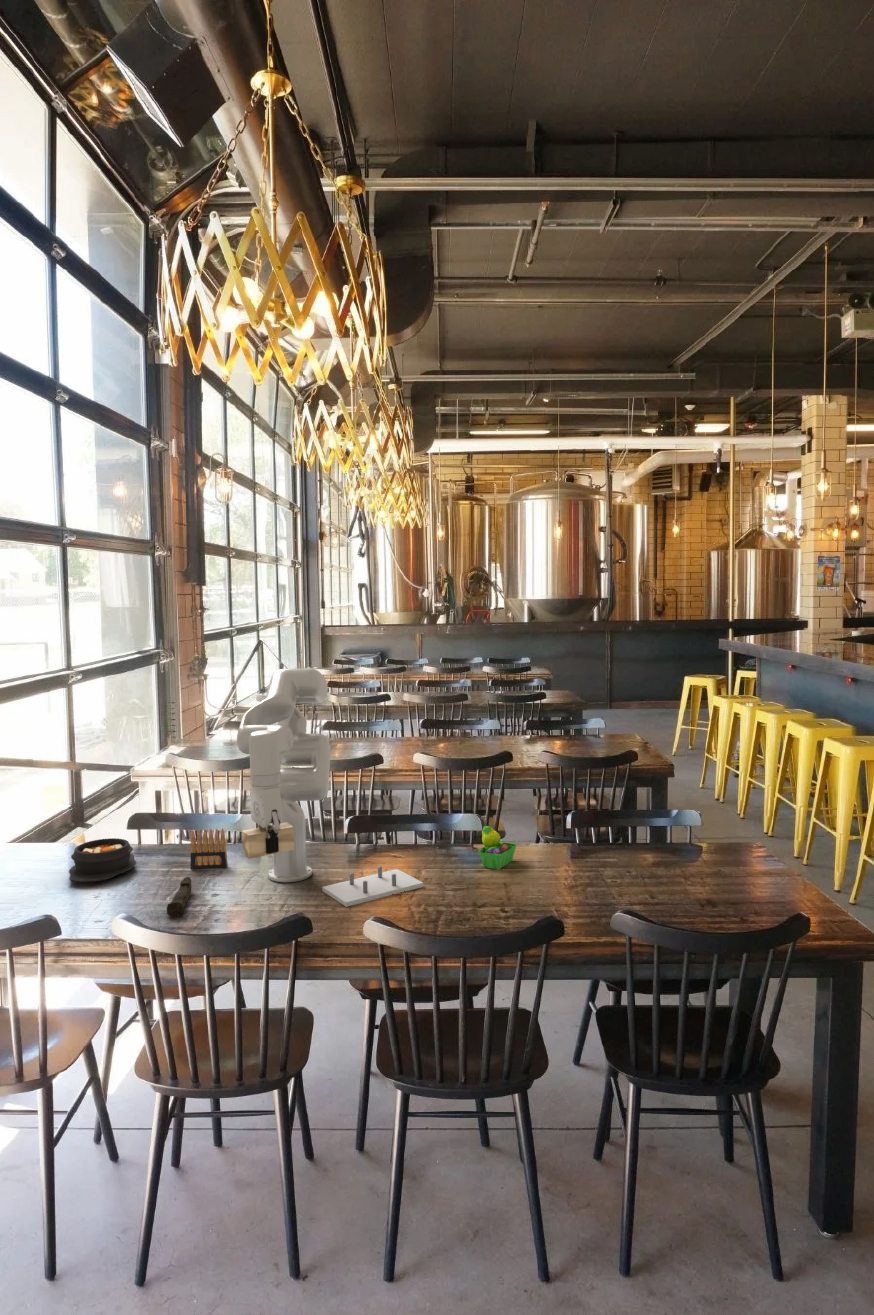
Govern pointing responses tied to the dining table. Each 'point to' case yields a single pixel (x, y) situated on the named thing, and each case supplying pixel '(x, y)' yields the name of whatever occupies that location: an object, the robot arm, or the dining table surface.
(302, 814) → the robot arm
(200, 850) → the ammunition clip
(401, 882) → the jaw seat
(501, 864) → the fruit basket
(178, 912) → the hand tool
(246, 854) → the block
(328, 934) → the dining table surface
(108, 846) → the casserole
